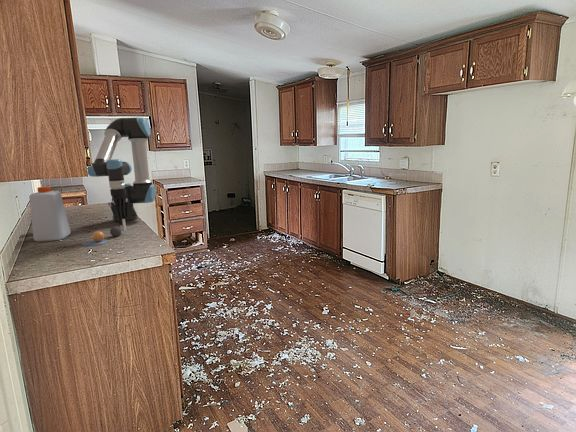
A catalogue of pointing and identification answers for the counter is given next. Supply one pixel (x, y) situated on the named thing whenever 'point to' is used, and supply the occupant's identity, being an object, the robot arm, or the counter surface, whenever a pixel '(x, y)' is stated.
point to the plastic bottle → (48, 215)
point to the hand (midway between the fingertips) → (123, 230)
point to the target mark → (94, 243)
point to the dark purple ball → (115, 231)
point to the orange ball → (98, 236)
